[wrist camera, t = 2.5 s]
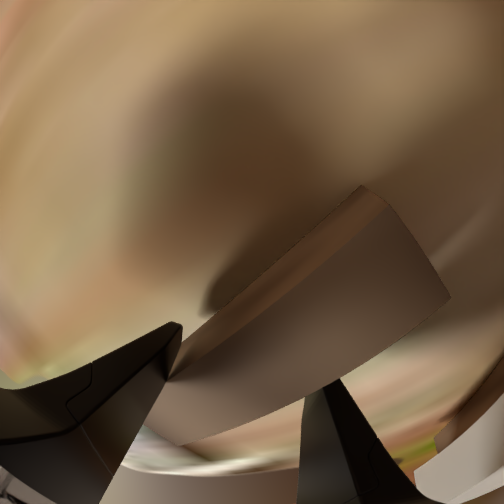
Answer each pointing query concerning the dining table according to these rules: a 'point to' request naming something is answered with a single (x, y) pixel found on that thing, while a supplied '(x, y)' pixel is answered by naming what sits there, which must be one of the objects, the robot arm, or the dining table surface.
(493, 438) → the slab
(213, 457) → the dining table surface
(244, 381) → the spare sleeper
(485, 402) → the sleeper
